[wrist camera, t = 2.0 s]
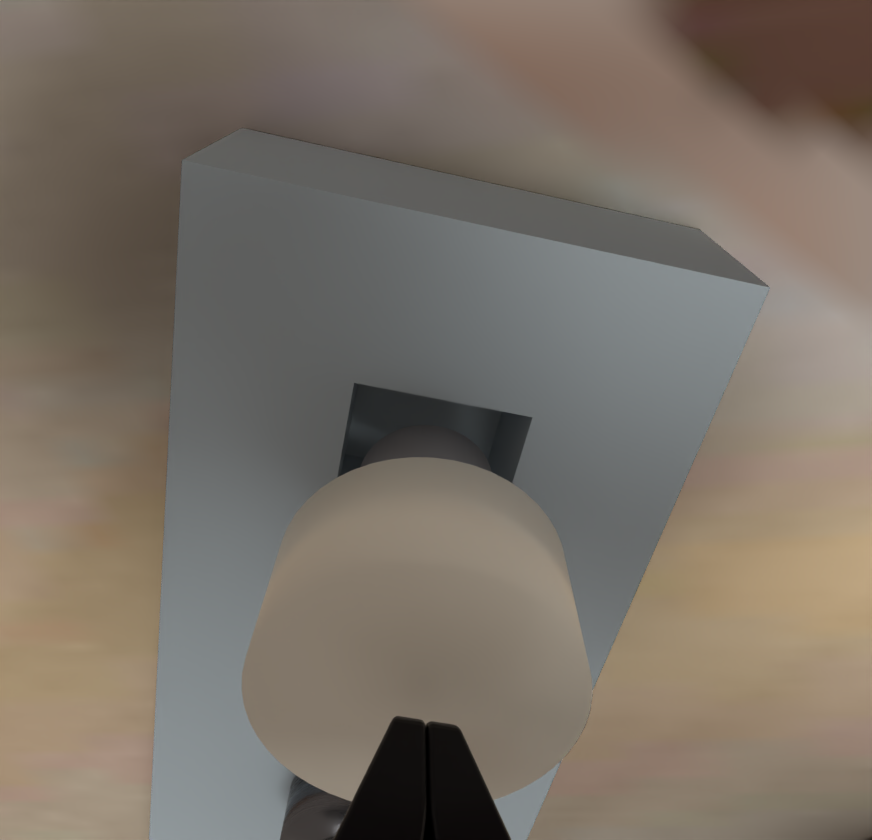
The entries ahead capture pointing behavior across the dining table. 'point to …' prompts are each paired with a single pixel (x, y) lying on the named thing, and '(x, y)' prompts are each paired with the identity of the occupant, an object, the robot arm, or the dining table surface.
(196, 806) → the mount
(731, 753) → the dining table surface
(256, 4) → the dining table surface
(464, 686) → the knob
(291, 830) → the pot stem
